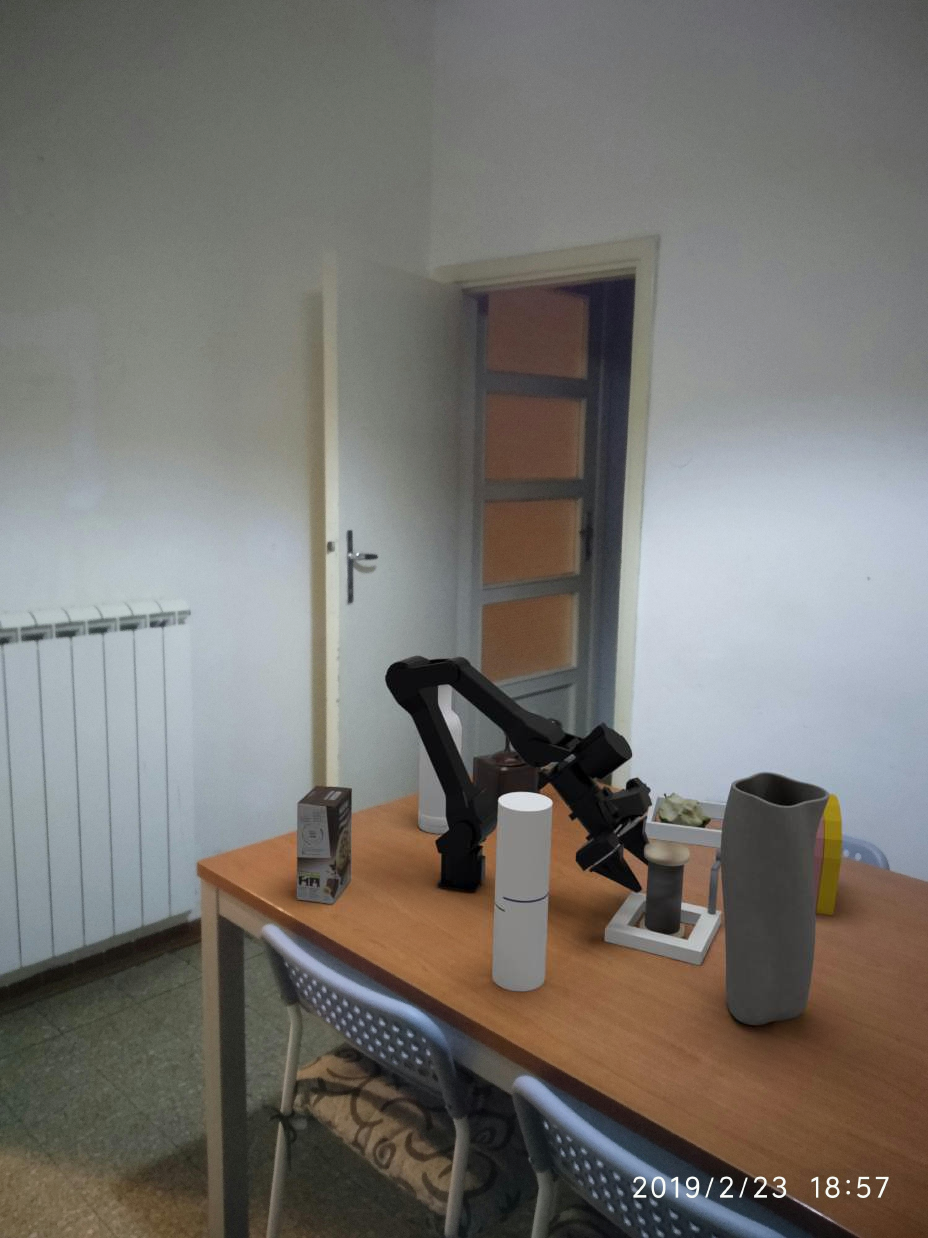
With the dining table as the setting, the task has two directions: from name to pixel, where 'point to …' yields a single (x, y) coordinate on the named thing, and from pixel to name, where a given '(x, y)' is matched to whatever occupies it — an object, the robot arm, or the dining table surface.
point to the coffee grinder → (505, 772)
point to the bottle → (429, 785)
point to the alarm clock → (827, 857)
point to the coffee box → (324, 843)
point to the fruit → (682, 812)
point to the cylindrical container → (521, 890)
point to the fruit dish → (685, 832)
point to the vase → (769, 895)
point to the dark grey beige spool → (664, 888)
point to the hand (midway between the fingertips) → (648, 879)
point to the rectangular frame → (666, 945)
